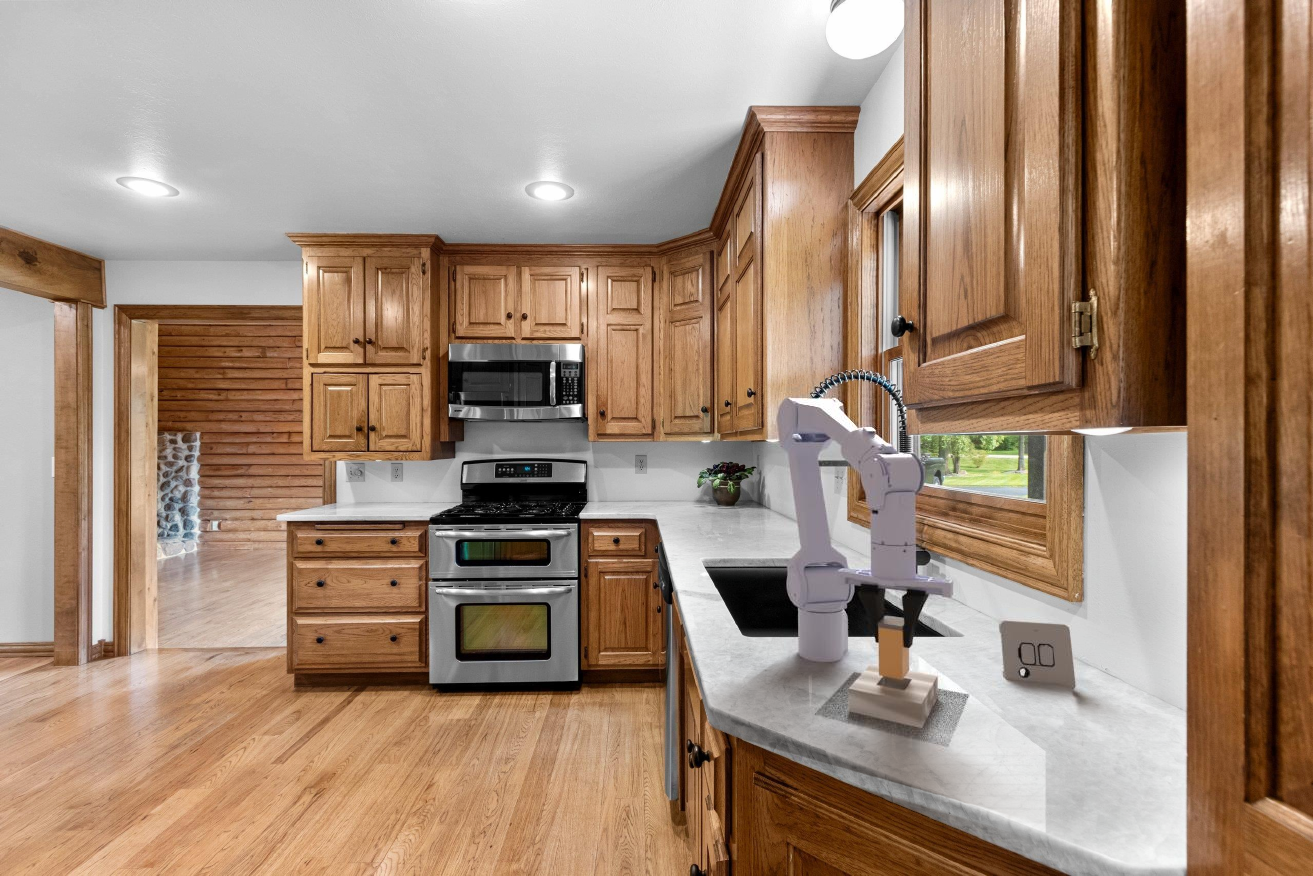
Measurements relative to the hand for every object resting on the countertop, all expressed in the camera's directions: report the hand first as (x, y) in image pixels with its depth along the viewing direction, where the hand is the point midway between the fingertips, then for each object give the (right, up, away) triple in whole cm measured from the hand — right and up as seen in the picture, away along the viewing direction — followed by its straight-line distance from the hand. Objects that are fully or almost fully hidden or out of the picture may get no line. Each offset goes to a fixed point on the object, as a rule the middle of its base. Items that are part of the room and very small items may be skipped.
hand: (893, 643), depth 85 cm
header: (0, -9, 0) cm, 9 cm away
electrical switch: (+25, -9, +10) cm, 28 cm away
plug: (0, -4, 0) cm, 4 cm away
